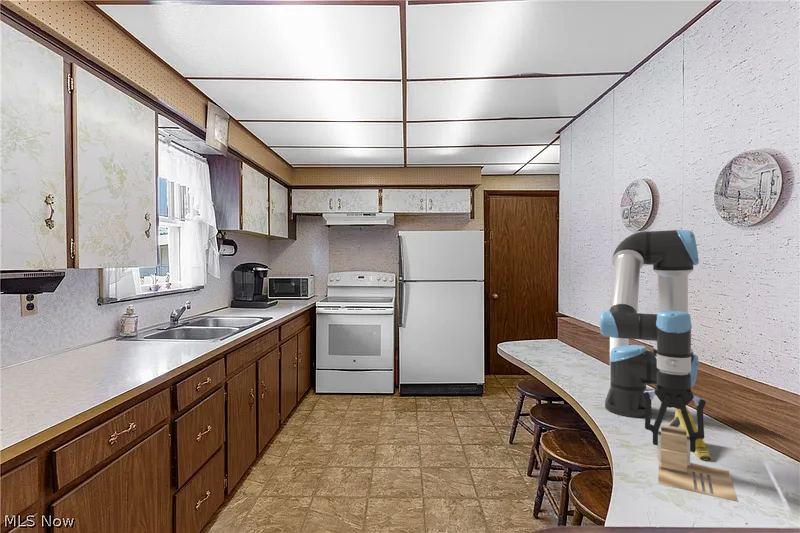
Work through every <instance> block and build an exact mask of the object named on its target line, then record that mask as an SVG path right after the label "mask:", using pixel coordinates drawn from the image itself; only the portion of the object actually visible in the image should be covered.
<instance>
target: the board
mask: <svg viewBox="0 0 800 533" xmlns="http://www.w3.org/2000/svg"><path fill="white" fill-rule="evenodd" d="M657 475H658V482H657V483H658V484H659V485H662V486H666V487H671V488H676V489H679V490H684V491H689V492H694V493H696V494H697V493H698V494H701V495H707V496H710V497H715V498H718V499H719V498H720V499H722V500H723V499H724V500H729V501H733V502H737V503H739V501H738V498H737V494H736V491H735V488H734V484H733V481H732V478H731V474H730V471H729V470H726V469H721V468H715V467H711V466H705V465H703V464H702V465H701V464H696V463H691V462H690V466H689V465H687V474H682V473H677V472H672V471H668V470H663V469H661V460H659V459H658V474H657Z"/></svg>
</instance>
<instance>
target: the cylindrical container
mask: <svg viewBox="0 0 800 533" xmlns="http://www.w3.org/2000/svg"><path fill="white" fill-rule="evenodd" d="M629 340H630V339H626V338H613V337H609V354H610V353H611V350H612V349H613V348H615V347H618V346H624V345H630V343H629Z"/></svg>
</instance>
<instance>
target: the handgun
mask: <svg viewBox="0 0 800 533" xmlns="http://www.w3.org/2000/svg"><path fill="white" fill-rule="evenodd" d="M686 409H687V412H688V415H689V418H690V421H691V424H692V427H693V430H694V432H698V426H696V424H695V420H694V418H693V417H692V414H691V412H690V411H689V408H688V407H686ZM667 426H673V427H679V428H685V429H686V434H687V436H689V433H688V430H687V427H686V424H685V421H684V418H683V415H682V413H681V410H680V409H677V408H675V412H674V418H673V419H672V420H671V421H669V422H668V424H667ZM704 441H705V440H704V439H697V440H696V451H695V452H693V454H694V455H695V456H696V457H697V458H698V459H699V460H702V461H711V459H712V456H711V454H710V452H709V450H708V448H707V446H706V443H705V442H704Z"/></svg>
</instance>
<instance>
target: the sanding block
mask: <svg viewBox="0 0 800 533" xmlns="http://www.w3.org/2000/svg"><path fill="white" fill-rule="evenodd" d="M660 429H661V430H660V431H661V469H663V470H668V471H672V472H677V473H682V474H687V434H686V429H685V428H679V427H673V426H669V425H668V424H667V425H665V424H661V425H660Z"/></svg>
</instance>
